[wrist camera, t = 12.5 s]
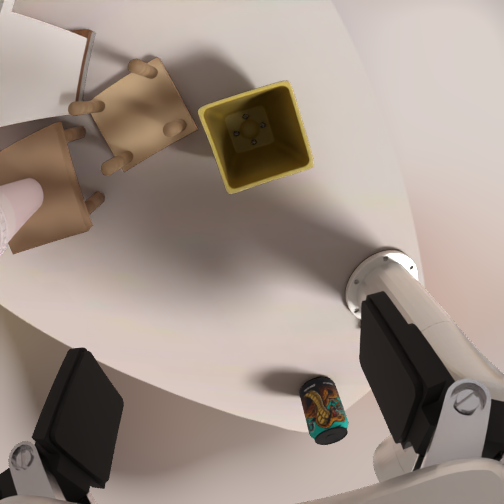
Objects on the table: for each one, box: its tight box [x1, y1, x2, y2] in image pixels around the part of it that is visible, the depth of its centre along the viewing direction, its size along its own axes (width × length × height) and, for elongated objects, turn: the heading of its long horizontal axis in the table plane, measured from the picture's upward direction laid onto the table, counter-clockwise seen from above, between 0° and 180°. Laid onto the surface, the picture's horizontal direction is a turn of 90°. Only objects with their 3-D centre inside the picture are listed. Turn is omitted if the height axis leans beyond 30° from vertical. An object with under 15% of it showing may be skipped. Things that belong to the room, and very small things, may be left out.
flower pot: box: [198, 81, 314, 194], centre depth 31 cm, size 9×9×9 cm
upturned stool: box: [68, 57, 198, 176], centre depth 29 cm, size 10×10×9 cm
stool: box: [0, 122, 105, 254], centre depth 31 cm, size 12×12×9 cm
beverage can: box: [300, 377, 348, 445], centre depth 51 cm, size 7×7×12 cm
